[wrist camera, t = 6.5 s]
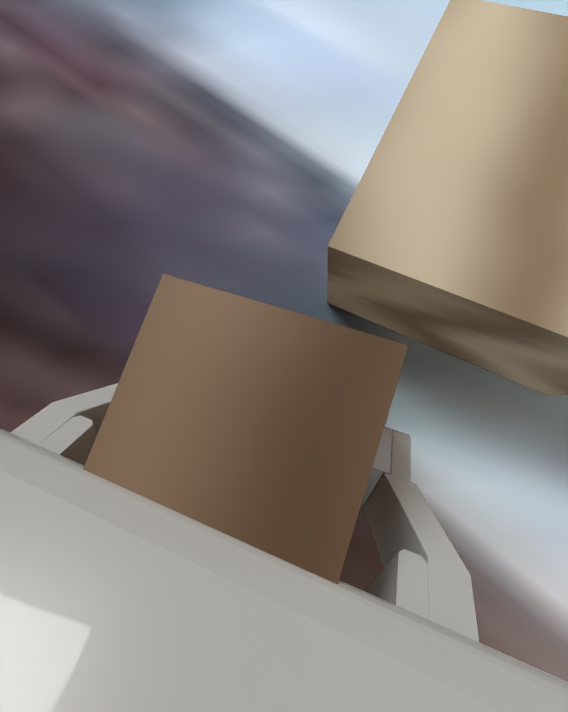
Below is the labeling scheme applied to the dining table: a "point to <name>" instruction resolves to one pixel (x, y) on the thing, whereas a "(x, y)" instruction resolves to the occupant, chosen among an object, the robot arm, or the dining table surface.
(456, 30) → the beech block
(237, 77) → the dining table surface
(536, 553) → the dining table surface
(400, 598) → the robot arm
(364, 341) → the walnut pillar
